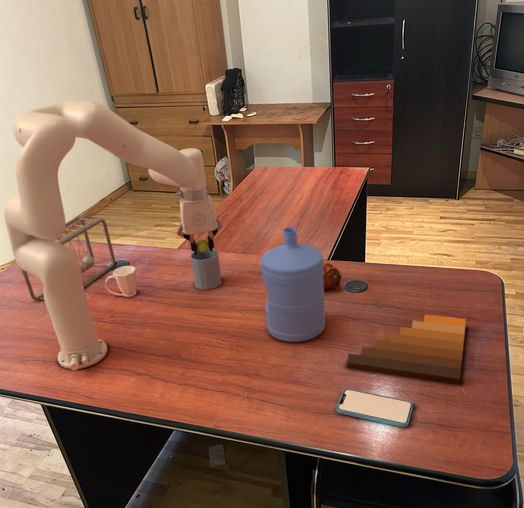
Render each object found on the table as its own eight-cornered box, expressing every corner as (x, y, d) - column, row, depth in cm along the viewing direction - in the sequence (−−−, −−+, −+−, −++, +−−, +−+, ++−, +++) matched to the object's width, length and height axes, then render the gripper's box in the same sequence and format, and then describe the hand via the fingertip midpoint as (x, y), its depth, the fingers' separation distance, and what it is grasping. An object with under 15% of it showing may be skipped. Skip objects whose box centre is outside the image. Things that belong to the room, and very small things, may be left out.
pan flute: (347, 369, 128) (458, 386, 120) (346, 358, 127) (460, 374, 118) (367, 315, 148) (464, 326, 140) (367, 304, 146) (466, 315, 138)
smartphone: (407, 425, 110) (335, 409, 115) (407, 429, 111) (335, 413, 116) (413, 401, 116) (344, 387, 121) (413, 406, 116) (344, 391, 122)
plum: (210, 253, 165) (209, 241, 163) (197, 255, 164) (196, 243, 162) (208, 248, 169) (207, 236, 166) (195, 250, 168) (194, 238, 166)
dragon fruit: (343, 296, 161) (306, 296, 167) (348, 270, 164) (311, 271, 169) (335, 283, 154) (296, 283, 160) (339, 256, 157) (301, 258, 162)
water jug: (337, 324, 146) (335, 225, 131) (298, 351, 137) (292, 248, 122) (293, 306, 155) (288, 213, 141) (254, 330, 146) (244, 233, 132)
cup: (142, 296, 168) (137, 272, 164) (109, 303, 166) (103, 279, 162) (139, 286, 174) (134, 263, 170) (107, 293, 172) (101, 270, 168)
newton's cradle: (57, 307, 167) (40, 254, 157) (32, 302, 171) (14, 251, 161) (117, 265, 189) (105, 216, 180) (93, 261, 193) (80, 214, 184)
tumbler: (224, 286, 169) (220, 257, 164) (196, 291, 168) (192, 262, 163) (219, 274, 176) (215, 246, 171) (192, 279, 175) (188, 251, 170)
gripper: (166, 202, 152) (177, 261, 162) (225, 192, 155) (232, 251, 165) (164, 194, 159) (174, 251, 168) (220, 185, 161) (227, 242, 171)
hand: (203, 250), depth 166 cm, fingers open, 4 cm apart
